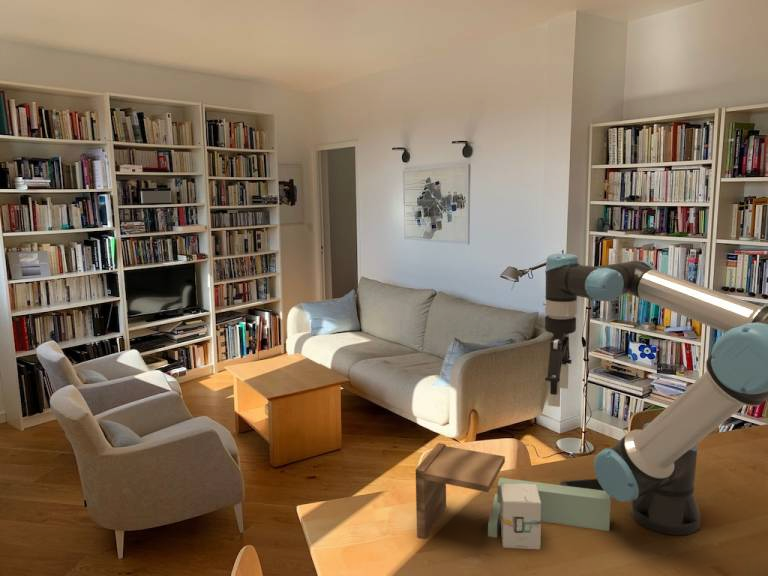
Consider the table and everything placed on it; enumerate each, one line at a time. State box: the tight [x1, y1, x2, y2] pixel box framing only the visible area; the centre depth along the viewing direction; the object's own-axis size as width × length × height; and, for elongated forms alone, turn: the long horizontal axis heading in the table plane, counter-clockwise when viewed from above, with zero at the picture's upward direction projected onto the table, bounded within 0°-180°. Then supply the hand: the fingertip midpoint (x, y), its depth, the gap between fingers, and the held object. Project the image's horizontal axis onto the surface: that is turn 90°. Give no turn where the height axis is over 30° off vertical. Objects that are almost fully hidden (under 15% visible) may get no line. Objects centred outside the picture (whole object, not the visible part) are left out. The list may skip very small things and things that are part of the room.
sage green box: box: [487, 477, 612, 538], centre depth 138 cm, size 27×14×8 cm, turn 72°
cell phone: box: [560, 478, 604, 491], centre depth 156 cm, size 7×14×1 cm, turn 95°
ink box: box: [499, 483, 542, 550], centre depth 134 cm, size 8×8×12 cm
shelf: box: [415, 442, 506, 540], centre depth 138 cm, size 17×15×17 cm
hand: (558, 396), depth 150 cm, fingers open, 13 cm apart
